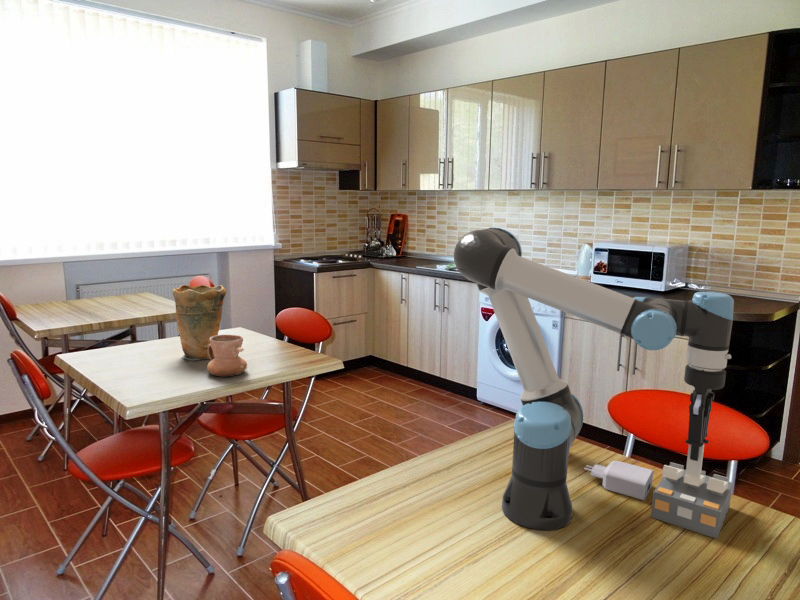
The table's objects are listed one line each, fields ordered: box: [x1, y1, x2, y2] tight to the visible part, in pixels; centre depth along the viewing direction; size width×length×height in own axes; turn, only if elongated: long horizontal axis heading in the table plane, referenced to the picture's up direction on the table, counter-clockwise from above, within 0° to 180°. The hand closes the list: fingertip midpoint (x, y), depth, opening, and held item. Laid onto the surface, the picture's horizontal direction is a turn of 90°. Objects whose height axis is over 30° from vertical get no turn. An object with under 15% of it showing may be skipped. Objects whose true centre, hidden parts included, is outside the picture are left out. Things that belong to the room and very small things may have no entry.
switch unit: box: [650, 468, 733, 539], centre depth 128 cm, size 16×13×7 cm
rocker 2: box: [684, 469, 707, 487], centre depth 128 cm, size 8×3×2 cm, turn 143°
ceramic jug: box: [206, 334, 248, 377], centre depth 219 cm, size 18×14×14 cm
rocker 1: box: [661, 461, 685, 480], centre depth 130 cm, size 8×3×2 cm, turn 143°
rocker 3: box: [707, 473, 729, 493], centre depth 125 cm, size 8×3×2 cm, turn 143°
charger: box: [584, 460, 654, 501], centre depth 141 cm, size 5×9×15 cm
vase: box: [172, 284, 227, 361], centre depth 240 cm, size 21×20×30 cm
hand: (693, 472), depth 125 cm, fingers closed
